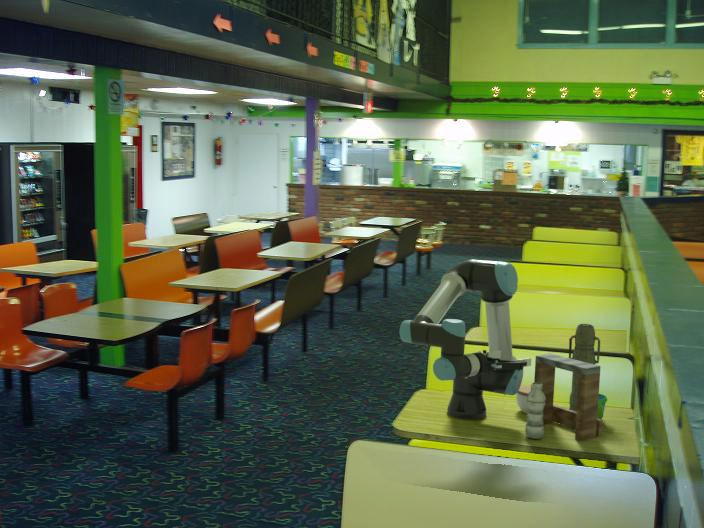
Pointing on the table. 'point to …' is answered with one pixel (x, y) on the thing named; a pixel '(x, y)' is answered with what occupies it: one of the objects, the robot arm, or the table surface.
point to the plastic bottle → (535, 412)
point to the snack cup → (601, 405)
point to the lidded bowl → (523, 397)
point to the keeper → (586, 400)
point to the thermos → (582, 355)
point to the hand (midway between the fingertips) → (515, 357)
